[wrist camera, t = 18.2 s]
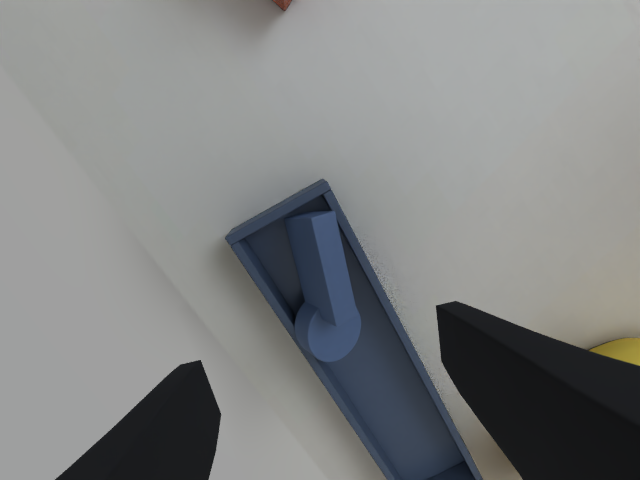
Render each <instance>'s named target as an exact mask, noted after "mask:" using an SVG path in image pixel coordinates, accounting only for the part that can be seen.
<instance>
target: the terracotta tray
mask: <svg viewBox="0 0 640 480" xmlns="http://www.w3.org/2000/svg"><path fill="white" fill-rule="evenodd" d="M273 1H274V2H275V3H276V4H277V5H278V6H279V7H281V8H282V9H283V10H284V11H285V10H286V9H287V7H288V6H289V4H290V2H291V1H292V0H273Z"/></svg>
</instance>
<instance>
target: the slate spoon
mask: <svg viewBox="0 0 640 480" xmlns="http://www.w3.org/2000/svg"><path fill="white" fill-rule="evenodd" d="M284 221H285V225H286V229H287V233H288V237H289V241H290V245H291V249H292V252H293V256H294V260H295V264H296V268H297V272H298V276H299V280H300V284H301V287H302V291H303V295H304V299H305V302H304V303H303V305H302V306H301V307H300V309H299V311H298V313H297V316H296V319H295V335H296V338H297V340H298V342H299V344H300V345H301V346H302V347H303V348H304V349H305V350H307V351H308V352H309V353H310V354H312V355H313V356H314V357H316V358H317V359H318V360H321V361H323V362H334V361H338V360H340V359H342V358H343V357H345V356H346V355H347V354H348V353H349V352H350V351H351V350H352V349H353V347H354V346H355V344H356V342H357V340H358V337H359V334H360V329H361V319H360V314H359V311H358V309H357V308H356V305H355V301H354V296H353V292H352V287H351V283H350V278H349V273H348V269H347V264H346V260H345V255H344V251H343V246H342V241H341V237H340V232H339V228H338V223H337V219H336V214H335V211H319V212H303V213H300V214H297V215H293V216H290V217H287V218H284Z"/></svg>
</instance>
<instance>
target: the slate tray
mask: <svg viewBox="0 0 640 480" xmlns="http://www.w3.org/2000/svg"><path fill="white" fill-rule="evenodd" d="M319 211H335V214H336V219H337V223H338V228H339V232H340V237H341V241H342V246H343V251H344V255H345V260H346V264H347V269H348V273H349V278H350V283H351V287H352V292H353V296H354V301H355V305H356V308H357V309H358V311H359V314H360V319H361V329H360V334H359V337H358V340H357V342H356V344H355V346H354V347H353V349H352V350H351V351H350V352H349V353H348V354H347V355H346V356H345V357H343V358H342V359H340V360H338V361H334V362H323V361H321V360H318V359H317V358H316V357H314V356H313V355H312V354H310V353H309V352H308V351H307V350H305V349H304V348H303V347H302V346H301V345H300V344H299V342H298V340H297V338H296V335H295V319H296V316H297V313H298V311H299V309H300V307H301V306H302V305H303V303H304V302H305V299H304V295H303V291H302V287H301V284H300V280H299V276H298V272H297V268H296V264H295V260H294V256H293V252H292V249H291V245H290V241H289V237H288V233H287V229H286V225H285V221H284V218H287V217H290V216H293V215H297V214H300V213H303V212H319ZM225 239H226V240H227V242H228V243H229V245H231V248H232V249H233V251H234V252H235V254H236V255H237V257H238V258H239V260H240V261H241V263H242V264H243V266H244V267H245V269H246V270H247V272H248V273H249V275H250V276H251V278H252V279H253V281H254V282H255V284H256V285H257V287H258V288H259V290H260V291H261V293H262V294H263V295H264V297H265V298H266V300H267V301H268V303H269V304H270V306H271V307H272V309H273V310H274V312H275V313H276V315H277V316H278V318H279V319H280V321H281V322H282V324H283V325H284V327H285V328H286V330H287V331H288V333H289V334H290V336H291V337H292V339H293V340H294V342H295V343H296V345H297V346H298V348H299V349H300V350H301V352H302V353H303V355H304V356H305V358H306V359H307V361H308V362H309V364H310V365H311V367H312V368H313V370H314V371H315V373H316V374H317V376H318V377H319V379H320V380H321V382H322V383H323V385H324V386H325V388H326V389H327V391H328V392H329V394H330V395H331V397H332V398H333V400H334V401H335V402H336V404H337V405H338V407H339V408H340V410H341V411H342V413H343V414H344V416H345V417H346V419H347V420H348V422H349V423H350V425H351V426H352V428H353V429H354V431H355V432H356V434H357V435H358V437H359V438H360V440H361V441H362V443H363V444H364V446H365V447H366V449H367V450H368V452H369V453H370V455H371V456H372V457H373V459H374V460H375V462H376V463H377V465H378V466H379V468H380V469H381V471H382V472H383V474H384V475H385V477H386V478H387V480H483V478H482V476H481V474H480V473H479V471H478V469H477V467H476V465H475V463H474V461H473V459H472V457H471V455H470V453H469V452H468V450H467V448H466V446H465V444H464V442H463V440H462V438H461V436H460V434H459V432H458V431H457V429H456V427H455V425H454V423H453V421H452V419H451V417H450V415H449V413H448V411H447V410H446V408H445V406H444V404H443V402H442V400H441V398H440V396H439V394H438V392H437V390H436V389H435V387H434V385H433V383H432V381H431V379H430V377H429V375H428V373H427V371H426V369H425V368H424V366H423V364H422V362H421V360H420V358H419V356H418V354H417V352H416V350H415V348H414V347H413V345H412V343H411V341H410V339H409V337H408V335H407V333H406V331H405V329H404V327H403V326H402V324H401V322H400V320H399V318H398V316H397V314H396V312H395V310H394V308H393V306H392V305H391V303H390V301H389V299H388V297H387V295H386V293H385V291H384V289H383V287H382V285H381V284H380V282H379V280H378V278H377V276H376V274H375V272H374V270H373V268H372V266H371V264H370V263H369V261H368V259H367V257H366V255H365V253H364V251H363V249H362V247H361V245H360V243H359V242H358V240H357V238H356V236H355V234H354V232H353V230H352V228H351V226H350V224H349V222H348V221H347V219H346V217H345V215H344V213H343V211H342V209H341V207H340V205H339V203H338V201H337V200H336V198H335V196H334V194H333V192H332V190H331V188H330V186H329V184H328V182H327V181H325V180H324V179H321V180H319V181H317V182H316V183H314V184H312V185H310V186H309V187H307V188H305V189H303V190H301V191H300V192H298V193H296V194H294V195H292V196H291V197H289V198H287V199H285V200H283V201H282V202H280V203H278V204H276V205H275V206H273V207H271V208H269V209H267V210H266V211H264V212H262V213H260V214H258V215H257V216H255V217H253V218H251V219H249V220H248V221H246V222H244V223H242V224H241V225H239V226H237V227H235V228H233V229H232V230H231V231H230V233H229V234H228V235H227V236H226V237H225Z"/></svg>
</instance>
